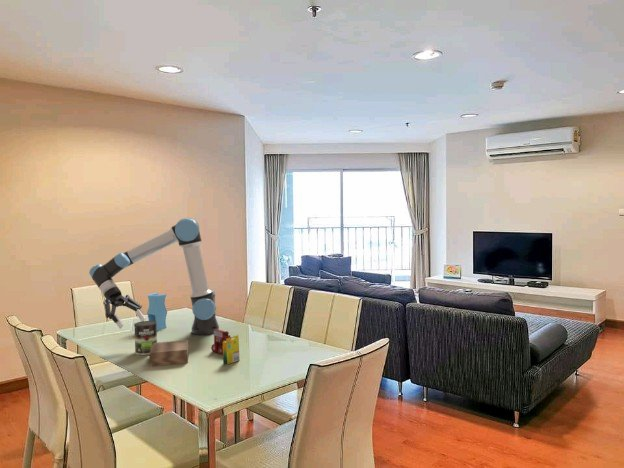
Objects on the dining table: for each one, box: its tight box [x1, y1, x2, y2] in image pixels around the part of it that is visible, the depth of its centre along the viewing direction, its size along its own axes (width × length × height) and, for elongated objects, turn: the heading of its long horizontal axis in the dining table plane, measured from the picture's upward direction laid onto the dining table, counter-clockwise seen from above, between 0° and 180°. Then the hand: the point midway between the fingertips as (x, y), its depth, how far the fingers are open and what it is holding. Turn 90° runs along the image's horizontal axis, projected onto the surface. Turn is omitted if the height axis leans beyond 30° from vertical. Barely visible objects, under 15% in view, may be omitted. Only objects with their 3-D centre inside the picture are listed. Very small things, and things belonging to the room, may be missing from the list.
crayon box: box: [222, 334, 240, 365], centre depth 207 cm, size 7×3×12 cm, turn 141°
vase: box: [146, 292, 168, 332], centre depth 269 cm, size 8×8×20 cm
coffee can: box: [133, 320, 158, 356], centre depth 224 cm, size 10×10×14 cm
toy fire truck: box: [210, 329, 231, 356], centre depth 221 cm, size 7×12×10 cm, turn 50°
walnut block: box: [149, 339, 190, 367], centre depth 212 cm, size 16×16×6 cm
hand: (133, 323), depth 226 cm, fingers open, 13 cm apart
